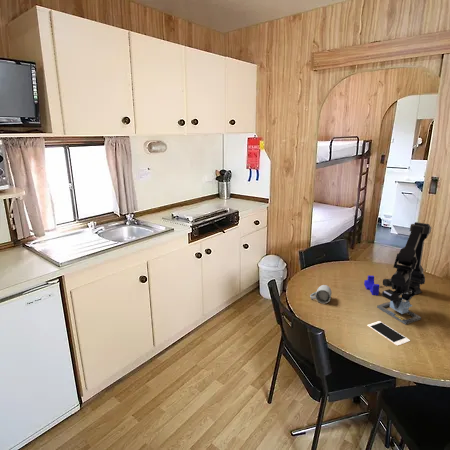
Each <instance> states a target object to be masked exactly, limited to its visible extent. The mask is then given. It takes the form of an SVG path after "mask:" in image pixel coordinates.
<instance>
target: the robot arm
mask: <svg viewBox="0 0 450 450" xmlns="http://www.w3.org/2000/svg"><path fill="white" fill-rule="evenodd" d="M409 227H410V228H409V232H410V233H409V236H408V238H407V242H406V244H405V246H404V247H402V248H400V250H399V253H397V254H396V255H395V256H396V257H395V260H394V263H393V267H392V268H393V269H396V270H395V272H394V273H393V275H392V276H391V277H390V278H383V279H382V285H383V286H384V287H386V288H387V287H390V288H391V289H385V290H383V291H382V292H381V297H383V298H385V299H387V300H389V301H390V300H391V301H393V304H394V308H395V309H397V308H398V307H399V305H400V303H401V301H402V298H403V299H405V300H407V301H409V302H410V301H411V299H412V298H413V297H415V295H419V294H422V293H423V291H421V286H422V285H425V284H426V275H425V273H424V268H423V265H422V258H423V251H424V245H425V240H426V239H427V238H428V237H429V236H430V234H431V232H432V226H431V225H430V224H429V223H425V222H419V221H418V222H417V221H415V222H414V223H411V224H410V226H409ZM400 297H402V298H400Z"/></svg>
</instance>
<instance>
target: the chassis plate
mask: <svg viewBox="0 0 450 450" xmlns="http://www.w3.org/2000/svg"><path fill="white" fill-rule="evenodd" d="M388 307H390V301H388V302H385V303H381V304H378V305H377V306H376V308H377V309H378V310H380V311H382V312H383V313H385V314H386V315H389V316H390V317H391V318H393V319H396V320H397V321H399V322H400V323H402V324H404V325H405V326H407V325H408V324H412V323H415V322H418V321H420V320H422V316H420V315H418V314H416V313H414V312H412V310H411V311H410V309H409V310H408V312H407V313H406V314H407V315H409V316H410V317H411V318H410V317H409V318H407V319H405V318H404V317H401V316H400V315H398V314H396V313H394V312H393V311H391V310H389V309H387V308H388Z"/></svg>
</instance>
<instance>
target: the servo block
mask: <svg viewBox="0 0 450 450" xmlns="http://www.w3.org/2000/svg"><path fill="white" fill-rule="evenodd" d="M400 298H402V296H400ZM389 302H390V306H389V308H391V309H392V310H394V311H396V312H398V313H400V314H401V315H403V314H407V312H408V310H409V311H410V309H409V308H411V307H413V304H411V302H410V300H409V301H407V300H405V299H403V298H402V301H401V303H400V305H399V307H398V308H397V309H395V308H394V304H393V301H391V300H389Z"/></svg>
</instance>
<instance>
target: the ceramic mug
mask: <svg viewBox="0 0 450 450" xmlns="http://www.w3.org/2000/svg"><path fill="white" fill-rule="evenodd" d="M309 296H310V299H311V300H316V301H317V302H318V303H320V304H327V303H329V302H330V301H331V297H332V289H331V287H330V286H329V285H327V284H322V285H320V286H319V287H318V288H317V289H316V291H315V292H313V293H310V295H309Z"/></svg>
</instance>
